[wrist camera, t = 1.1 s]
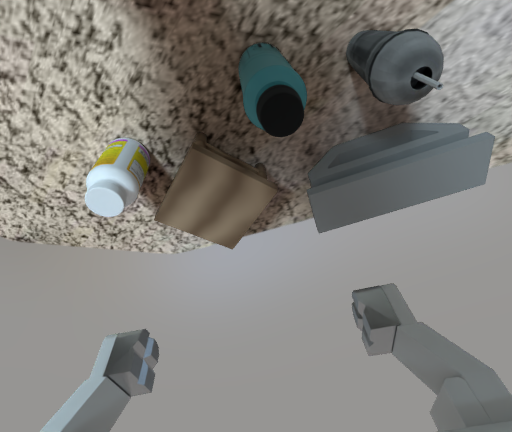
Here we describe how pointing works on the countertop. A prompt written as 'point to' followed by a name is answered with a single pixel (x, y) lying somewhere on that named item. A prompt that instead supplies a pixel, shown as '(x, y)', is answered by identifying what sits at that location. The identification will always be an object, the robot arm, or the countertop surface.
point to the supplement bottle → (117, 177)
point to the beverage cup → (397, 64)
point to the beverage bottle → (271, 90)
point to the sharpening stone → (396, 171)
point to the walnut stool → (215, 195)
